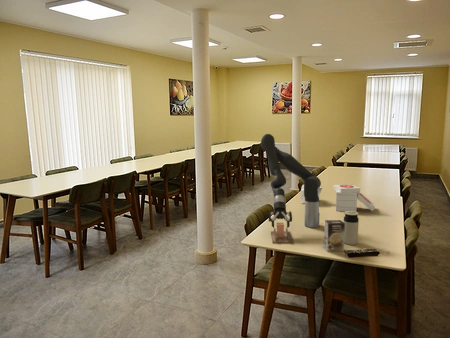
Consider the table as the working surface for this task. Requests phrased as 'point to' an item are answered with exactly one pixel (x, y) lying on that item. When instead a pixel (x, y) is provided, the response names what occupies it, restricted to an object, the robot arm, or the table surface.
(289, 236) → the walnut rack
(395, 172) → the table surface
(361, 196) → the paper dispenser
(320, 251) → the table surface
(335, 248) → the coffee box
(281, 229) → the terracotta block
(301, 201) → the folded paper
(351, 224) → the travel mug
